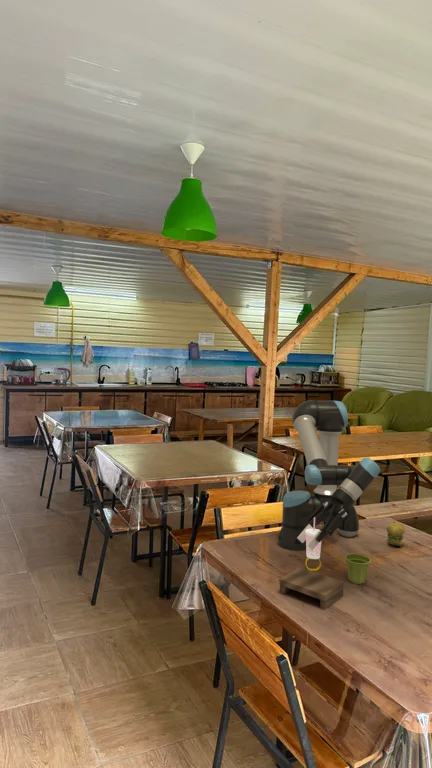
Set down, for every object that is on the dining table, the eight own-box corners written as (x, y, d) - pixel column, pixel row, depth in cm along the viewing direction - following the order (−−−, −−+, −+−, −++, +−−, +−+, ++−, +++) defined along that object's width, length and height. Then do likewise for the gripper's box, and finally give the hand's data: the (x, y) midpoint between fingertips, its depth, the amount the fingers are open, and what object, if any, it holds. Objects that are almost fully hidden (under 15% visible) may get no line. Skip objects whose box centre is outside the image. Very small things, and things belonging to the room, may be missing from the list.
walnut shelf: (278, 592, 182) (279, 579, 182) (299, 580, 193) (299, 567, 193) (324, 610, 171) (325, 595, 170) (343, 595, 181) (344, 581, 181)
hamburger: (405, 545, 232) (406, 519, 232) (401, 550, 226) (403, 523, 225) (388, 542, 236) (389, 516, 236) (383, 546, 230) (385, 520, 230)
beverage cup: (318, 561, 176) (319, 521, 176) (301, 557, 180) (302, 517, 179) (324, 555, 182) (325, 516, 181) (308, 551, 185) (309, 513, 184)
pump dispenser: (333, 531, 248) (334, 500, 248) (354, 531, 249) (355, 500, 248) (340, 539, 238) (341, 506, 237) (361, 539, 239) (363, 506, 238)
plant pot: (370, 577, 197) (371, 555, 197) (369, 588, 188) (370, 565, 188) (345, 573, 200) (346, 551, 200) (342, 583, 191) (344, 560, 191)
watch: (306, 572, 201) (305, 557, 201) (305, 569, 204) (304, 554, 204) (321, 571, 201) (321, 556, 201) (320, 568, 204) (319, 553, 204)
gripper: (368, 509, 176) (325, 561, 171) (337, 494, 194) (297, 541, 189) (356, 494, 174) (312, 547, 169) (325, 481, 192) (285, 528, 187)
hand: (304, 543), depth 179 cm, fingers closed on beverage cup, 6 cm apart
